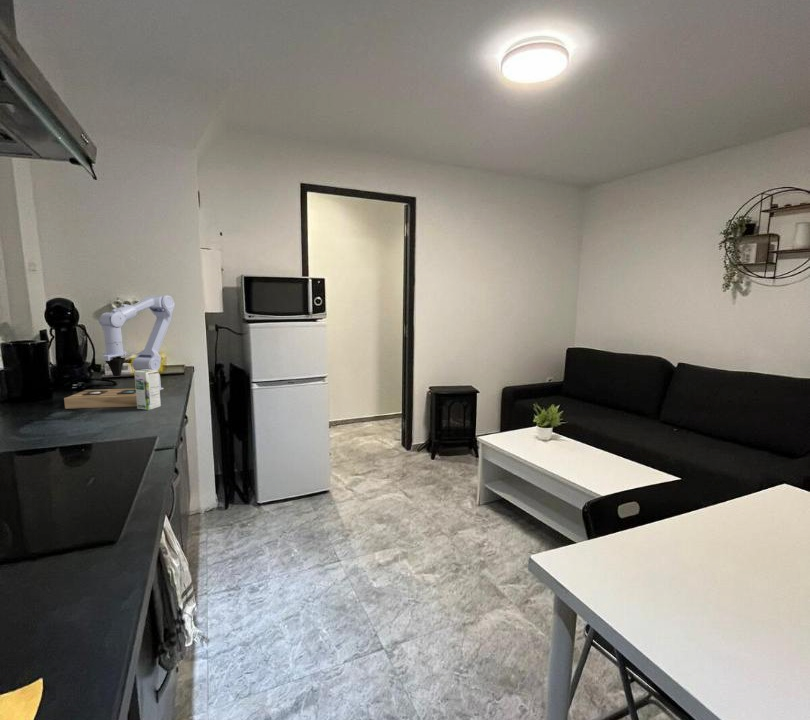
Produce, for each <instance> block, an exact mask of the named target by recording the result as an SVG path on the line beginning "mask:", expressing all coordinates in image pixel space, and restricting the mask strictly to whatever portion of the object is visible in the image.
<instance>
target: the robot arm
mask: <svg viewBox="0 0 810 720" xmlns="http://www.w3.org/2000/svg"><path fill="white" fill-rule="evenodd" d="M175 306H176V304H175V301H174V298H173V297H172V296H170V295H167V294H166V295H154V294H153V295H149V296H145V297H144V298H143V299H141V300H140V301H139V300H138V301H137V302H135V303H134V304H131V305H130V304H126V303H125V304H121V305H120V307H118V308H116V309H115V308H113V309H112V310H110V312H108V311H107V312H104V313H102V314H101V315H100V317H99V319H98V323H99V325H100V326H101V328H102V330H103V334H104V335H103V337H104V338H103V339H104V346H105V353H102V361H103V362H105V363H106V364H107V365H108V367H109V369H110V371H111V373H112V375H113V377H120V376H121V375H122V370H123V366H124V363H125V361H126V356H127V351H126V350H124V345H123V343H124V342H123V334H122V326H124V324H125V323H126V322H127V321H129V320H132V319H133V318H135V317H136V316H137V313H140V312H142V311H145V310H146V309H149V310H150V311H151V313H152V314H153V315H154V316H155V317H156V319H155V322H154V324H153V327H152V329H151V332H150V334H149V337H148V340H147V342H146V344H145V346H144V349H142V350H141V351H139V352H138V353H137V355H136V357H134V358H133V359H132V366H131V367H132V368H133V370H135V371H138V370H144V369H148V370H158V371H159V370H160V369H161V367H162V366H161V365H162V363H161V362H162V356H161V355H160V354H159V352H160V350H161V347H162V344H163V342H164V339H165V336H166V334H167V331H168V329H169V326H170V324H171V321H172V316H173V311H174V310H175ZM158 376H159V389H160V391H162V390H164V387H162V385H161V383H162V382H161V374H160V373H159V372H158Z"/></svg>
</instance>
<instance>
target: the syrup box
mask: <svg viewBox="0 0 810 720" xmlns="http://www.w3.org/2000/svg"><path fill="white" fill-rule="evenodd" d="M133 373H134V384H135V389H136V398H137V406H136V409H137V410H146V411H150V410H153V409H156V408H159V407H161V406H162V404H161V403H162V402H161V390H160V389H159V376H158V373H159V370H148V369H144V370H138V371H136V370H135V371H134V372H133Z"/></svg>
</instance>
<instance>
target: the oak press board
mask: <svg viewBox="0 0 810 720" xmlns="http://www.w3.org/2000/svg"><path fill="white" fill-rule="evenodd" d="M125 391H134V392H129V393H124V392H125ZM91 392H100V393H96V394H90V393H91ZM63 400H64V401H63V402H64V408H65V409H67V410H68V409H70V410H71V409H90V408H91V409H96V408H121V407H122V408H124V407H137V398H136V388H115V389H114V388H112V389H110V388H108V389H106V388H105V389H84V390H81V391H79V392H77V393H74V394H72V395H69V396H67V397H64V398H63Z"/></svg>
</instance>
